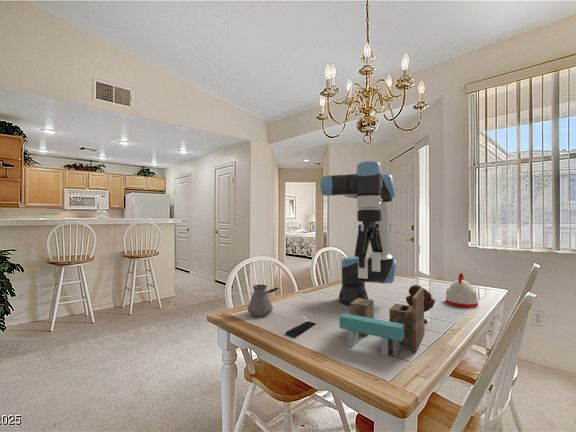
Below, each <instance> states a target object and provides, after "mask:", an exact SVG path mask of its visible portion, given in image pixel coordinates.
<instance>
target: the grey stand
mask: <svg viewBox="0 0 576 432" xmlns="http://www.w3.org/2000/svg"><path fill="white" fill-rule="evenodd" d="M359 336H360V335H359V332H355V331H350V330H347V347H351V348H355V346H356V345H357V344H358V343H359V341H360V338H359ZM391 351H393V342H392V340H391V339H387V338H382V337H380V354H381V355H383V356H387V357H388V356H389V354H390V353H391Z"/></svg>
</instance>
